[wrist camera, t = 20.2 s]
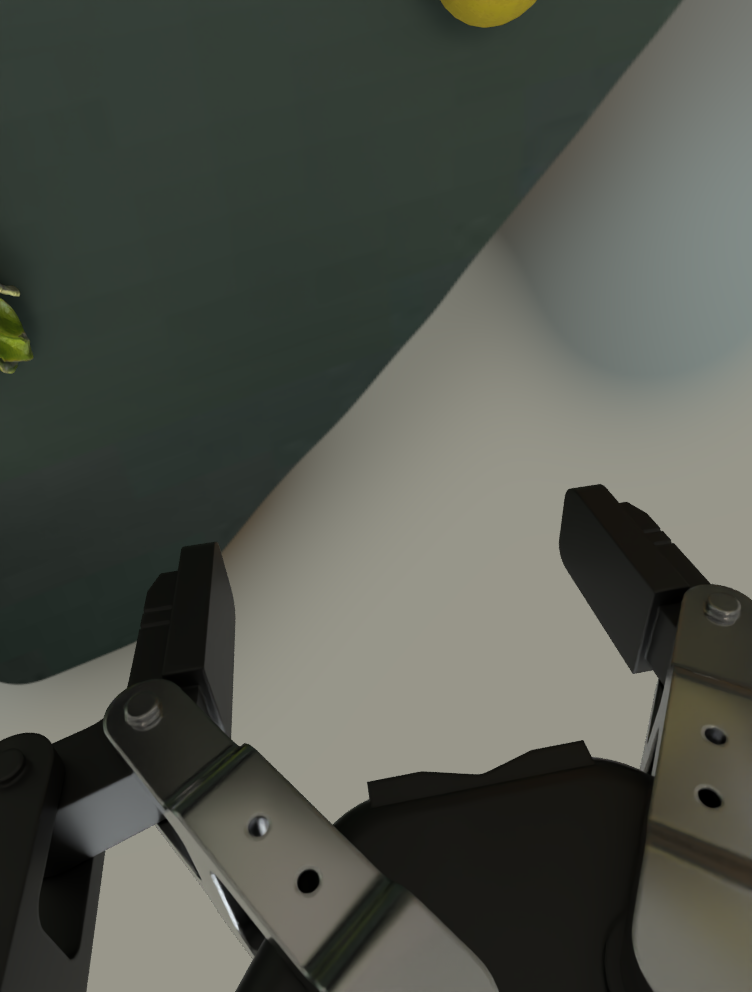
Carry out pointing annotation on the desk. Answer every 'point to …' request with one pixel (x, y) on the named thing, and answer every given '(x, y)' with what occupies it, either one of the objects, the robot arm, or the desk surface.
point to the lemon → (487, 11)
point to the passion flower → (12, 335)
